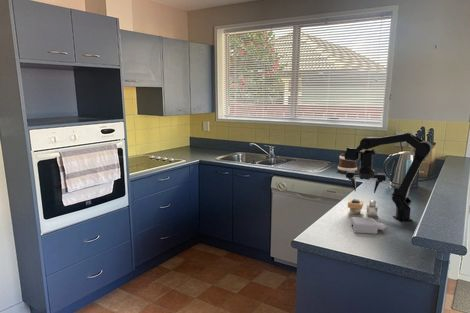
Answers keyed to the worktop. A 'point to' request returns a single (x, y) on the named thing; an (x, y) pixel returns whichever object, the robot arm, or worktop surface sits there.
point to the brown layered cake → (346, 165)
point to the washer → (355, 204)
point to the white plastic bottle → (366, 225)
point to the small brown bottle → (353, 210)
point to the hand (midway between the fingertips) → (364, 192)
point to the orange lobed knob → (372, 209)
